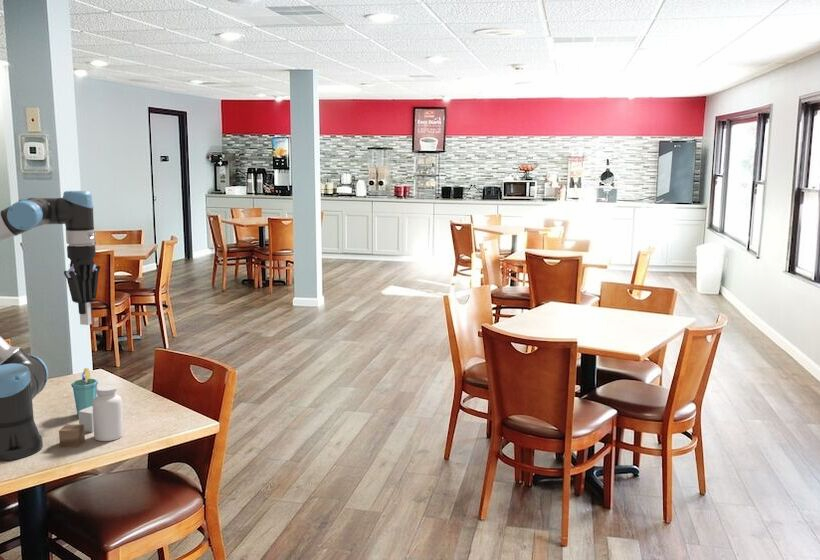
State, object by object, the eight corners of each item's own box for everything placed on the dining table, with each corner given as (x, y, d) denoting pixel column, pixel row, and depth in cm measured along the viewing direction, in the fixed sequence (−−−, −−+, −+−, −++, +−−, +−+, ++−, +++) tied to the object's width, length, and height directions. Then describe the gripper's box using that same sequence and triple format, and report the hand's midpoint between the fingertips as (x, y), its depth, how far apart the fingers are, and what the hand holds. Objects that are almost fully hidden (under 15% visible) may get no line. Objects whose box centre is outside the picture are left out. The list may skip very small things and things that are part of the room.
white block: (92, 432, 218) (91, 413, 217) (79, 430, 220) (78, 411, 219) (105, 427, 223) (103, 408, 222) (92, 424, 225) (91, 406, 224)
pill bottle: (117, 442, 211) (114, 392, 208) (89, 441, 211) (86, 391, 209) (128, 432, 219) (125, 383, 216) (101, 431, 219) (98, 383, 216)
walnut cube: (78, 447, 207) (77, 430, 206) (60, 447, 207) (58, 430, 206) (84, 440, 212) (83, 424, 211) (67, 441, 212) (65, 424, 211)
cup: (100, 420, 228) (97, 374, 226) (73, 424, 225) (69, 376, 223) (99, 406, 241) (96, 362, 238) (73, 409, 238) (70, 365, 235)
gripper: (76, 247, 205) (81, 329, 209) (106, 242, 217) (111, 320, 221) (53, 246, 207) (59, 328, 210) (85, 241, 219) (90, 318, 223)
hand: (86, 324), depth 216 cm, fingers closed
